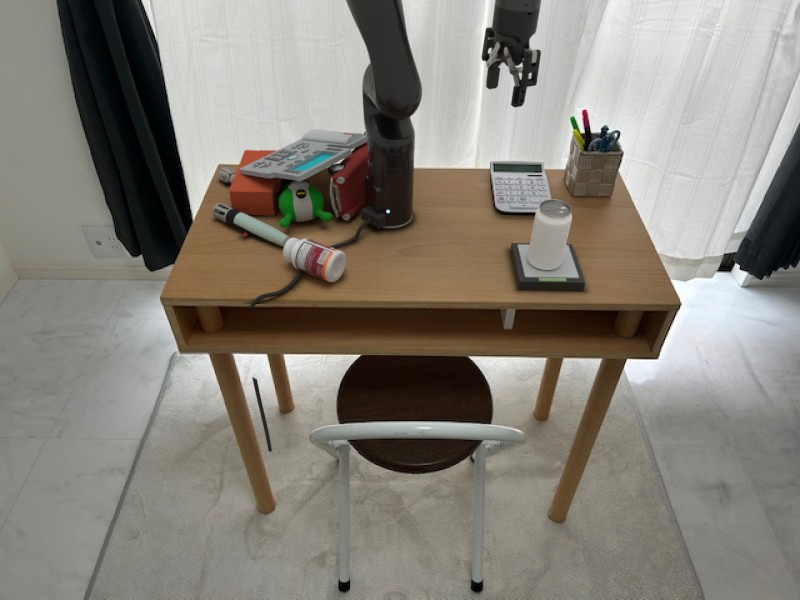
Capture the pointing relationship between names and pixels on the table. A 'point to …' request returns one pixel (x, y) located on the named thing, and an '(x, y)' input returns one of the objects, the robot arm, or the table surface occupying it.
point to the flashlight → (249, 224)
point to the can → (549, 234)
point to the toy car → (349, 182)
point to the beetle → (227, 175)
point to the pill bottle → (315, 258)
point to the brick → (255, 188)
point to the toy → (301, 203)
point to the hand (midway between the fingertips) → (504, 97)
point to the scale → (535, 279)
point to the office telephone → (306, 155)
